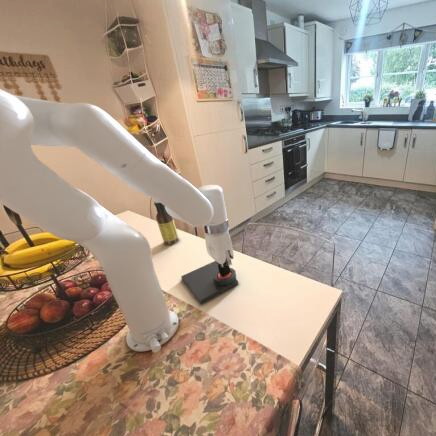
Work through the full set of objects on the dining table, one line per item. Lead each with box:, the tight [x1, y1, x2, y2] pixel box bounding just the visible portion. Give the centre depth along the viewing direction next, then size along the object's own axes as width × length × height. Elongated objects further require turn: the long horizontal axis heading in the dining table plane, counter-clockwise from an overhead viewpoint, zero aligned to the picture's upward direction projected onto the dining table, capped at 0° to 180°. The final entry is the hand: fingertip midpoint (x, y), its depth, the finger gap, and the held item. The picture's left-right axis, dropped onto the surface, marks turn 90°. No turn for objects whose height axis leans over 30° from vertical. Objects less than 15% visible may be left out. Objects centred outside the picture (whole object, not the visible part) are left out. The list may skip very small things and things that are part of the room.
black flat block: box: [180, 260, 239, 305], centre depth 83 cm, size 16×14×4 cm
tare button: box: [218, 272, 231, 279], centre depth 82 cm, size 4×4×2 cm
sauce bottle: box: [153, 200, 179, 246], centre depth 105 cm, size 6×6×20 cm
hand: (225, 273), depth 82 cm, fingers closed
